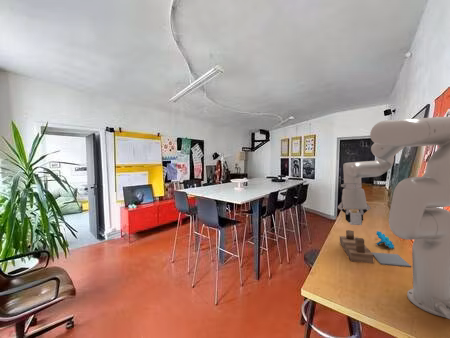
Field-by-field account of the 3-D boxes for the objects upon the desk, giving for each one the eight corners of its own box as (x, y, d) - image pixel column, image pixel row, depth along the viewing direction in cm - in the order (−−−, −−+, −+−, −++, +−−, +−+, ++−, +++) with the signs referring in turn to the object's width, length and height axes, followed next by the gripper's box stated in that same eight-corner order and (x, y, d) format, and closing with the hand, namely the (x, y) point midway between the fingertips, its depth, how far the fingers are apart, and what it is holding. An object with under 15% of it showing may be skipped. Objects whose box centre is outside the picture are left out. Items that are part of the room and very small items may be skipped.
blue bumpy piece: (392, 249, 100) (375, 231, 106) (382, 254, 103) (366, 237, 109) (398, 245, 107) (382, 229, 113) (388, 251, 110) (373, 234, 116)
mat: (410, 267, 86) (410, 265, 86) (380, 264, 90) (380, 263, 90) (397, 255, 97) (397, 254, 97) (371, 253, 100) (371, 252, 100)
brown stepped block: (373, 263, 91) (372, 241, 91) (351, 261, 94) (350, 240, 93) (357, 243, 112) (357, 226, 112) (339, 242, 115) (339, 225, 114)
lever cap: (361, 225, 98) (361, 211, 98) (350, 224, 100) (350, 211, 100) (357, 221, 104) (357, 208, 104) (347, 221, 105) (346, 208, 105)
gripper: (335, 187, 101) (337, 223, 101) (375, 186, 95) (377, 224, 96) (332, 186, 108) (334, 219, 108) (369, 185, 103) (371, 220, 103)
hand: (354, 221), depth 102 cm, fingers closed on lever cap, 4 cm apart
